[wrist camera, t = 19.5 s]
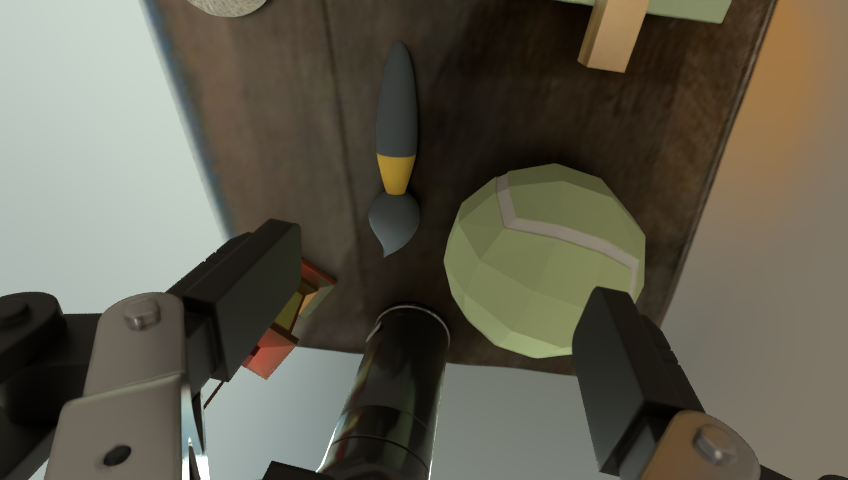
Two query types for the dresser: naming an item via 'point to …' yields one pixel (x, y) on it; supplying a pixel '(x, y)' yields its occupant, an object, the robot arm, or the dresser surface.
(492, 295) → the decorative sphere
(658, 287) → the dresser surface
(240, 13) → the fossil
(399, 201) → the paintbrush
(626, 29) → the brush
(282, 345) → the light fixture
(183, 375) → the robot arm
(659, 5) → the shelf
